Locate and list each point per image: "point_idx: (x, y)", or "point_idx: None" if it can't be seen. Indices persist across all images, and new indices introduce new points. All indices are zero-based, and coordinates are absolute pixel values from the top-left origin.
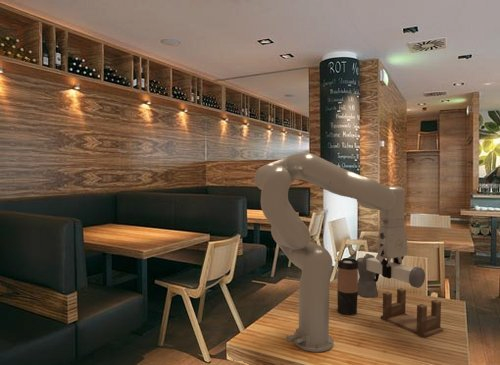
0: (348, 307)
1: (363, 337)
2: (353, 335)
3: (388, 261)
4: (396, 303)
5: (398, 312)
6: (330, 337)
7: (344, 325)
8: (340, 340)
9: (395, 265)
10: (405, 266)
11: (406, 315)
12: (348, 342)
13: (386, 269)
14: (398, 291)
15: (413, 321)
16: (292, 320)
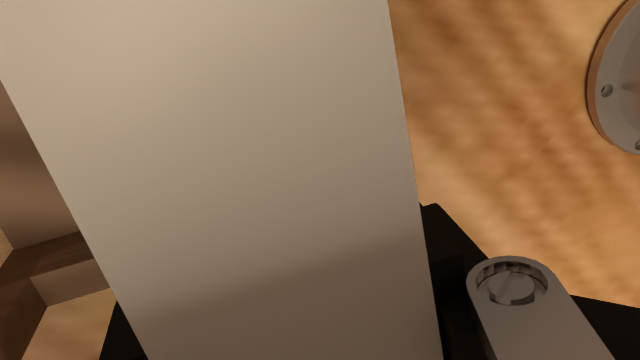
0: None
1: (428, 51)
2: (459, 86)
3: (581, 344)
4: (62, 289)
5: (74, 239)
6: (607, 63)
7: (428, 196)
8: (549, 53)
9: (314, 294)
10: (108, 165)
11: (24, 219)
12: (530, 22)
13: (479, 254)
14: (11, 356)
15: (27, 134)
16: (597, 281)
